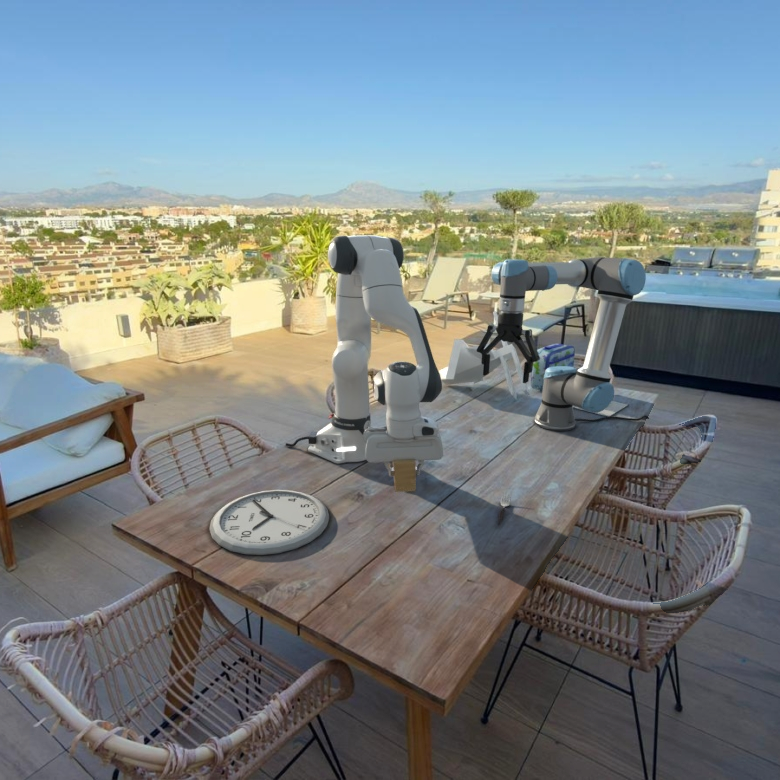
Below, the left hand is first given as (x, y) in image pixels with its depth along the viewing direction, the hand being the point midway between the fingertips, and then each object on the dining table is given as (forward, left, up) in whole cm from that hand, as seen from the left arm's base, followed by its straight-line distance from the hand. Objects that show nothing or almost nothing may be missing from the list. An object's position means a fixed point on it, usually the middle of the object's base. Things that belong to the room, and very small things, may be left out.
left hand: (404, 474), depth 138 cm
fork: (+23, +13, -11) cm, 29 cm away
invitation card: (+30, +121, -11) cm, 125 cm away
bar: (-5, +8, -3) cm, 9 cm away
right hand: (+10, +46, +17) cm, 50 cm away
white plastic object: (-22, +111, -11) cm, 114 cm away
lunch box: (+4, +137, -11) cm, 138 cm away
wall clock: (-26, -23, -11) cm, 37 cm away
